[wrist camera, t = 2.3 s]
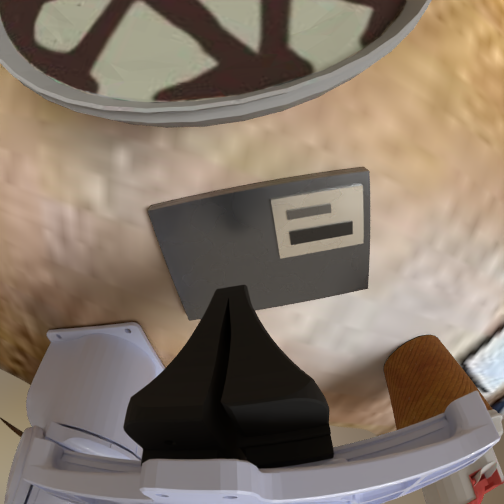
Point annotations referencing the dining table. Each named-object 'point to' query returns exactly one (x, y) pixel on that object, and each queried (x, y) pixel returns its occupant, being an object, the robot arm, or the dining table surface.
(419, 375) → the disposable coffee cup
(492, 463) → the citrus juicer
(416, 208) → the dining table surface
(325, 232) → the label panel
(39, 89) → the food container
